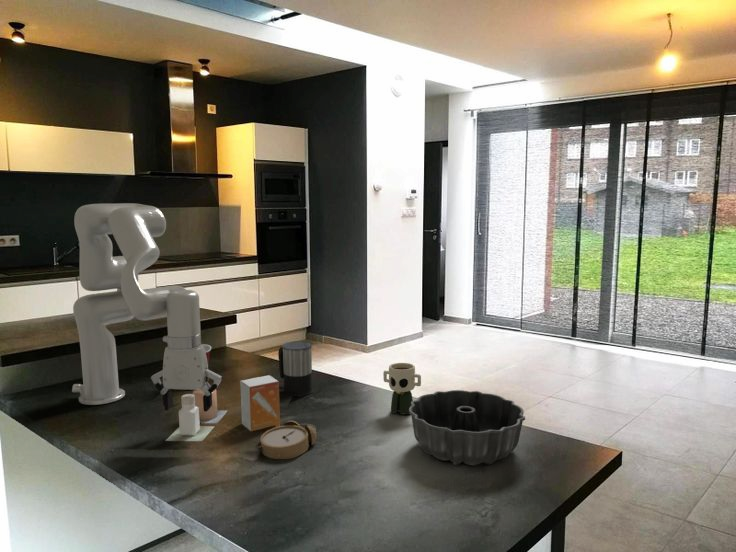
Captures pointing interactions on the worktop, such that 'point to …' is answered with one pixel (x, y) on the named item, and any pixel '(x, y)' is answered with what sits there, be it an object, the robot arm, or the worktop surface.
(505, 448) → the bundt pan
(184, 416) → the salt shaker
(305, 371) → the milk frother
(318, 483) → the worktop surface
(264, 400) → the small box
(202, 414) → the peach rounded cylinder
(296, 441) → the alarm clock
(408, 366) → the character mug
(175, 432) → the board
